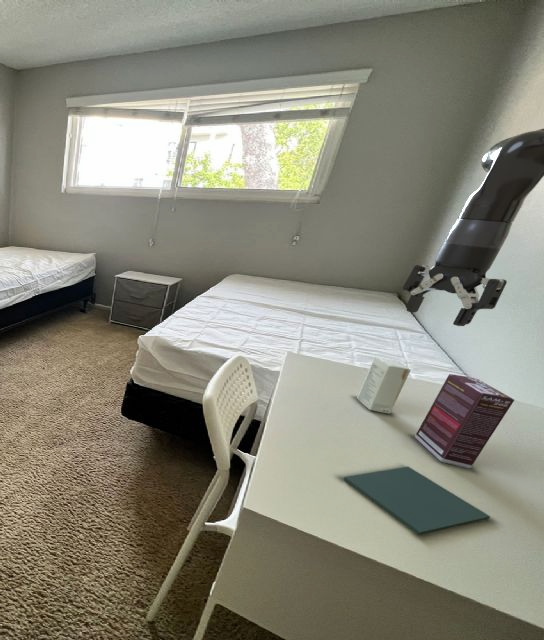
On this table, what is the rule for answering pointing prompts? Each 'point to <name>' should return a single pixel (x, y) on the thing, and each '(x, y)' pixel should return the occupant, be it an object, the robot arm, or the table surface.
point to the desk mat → (415, 500)
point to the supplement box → (462, 420)
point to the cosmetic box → (383, 384)
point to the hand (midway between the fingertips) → (433, 318)
